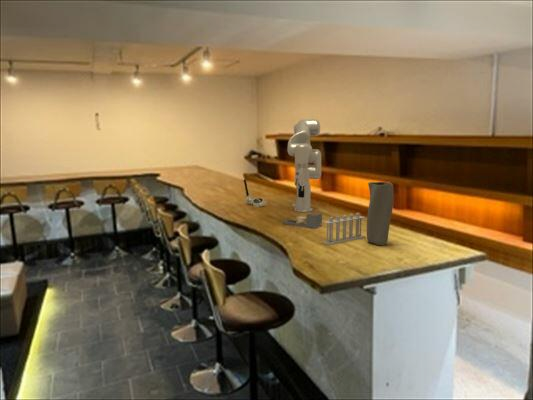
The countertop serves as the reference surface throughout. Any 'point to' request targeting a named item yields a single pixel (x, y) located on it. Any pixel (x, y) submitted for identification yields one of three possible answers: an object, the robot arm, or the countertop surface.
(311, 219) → the end cap
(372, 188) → the vase
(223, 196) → the countertop surface
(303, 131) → the robot arm
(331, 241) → the test tube rack
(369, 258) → the countertop surface
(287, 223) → the guide channel
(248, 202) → the butterfly valve
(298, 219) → the beige rectangular block
